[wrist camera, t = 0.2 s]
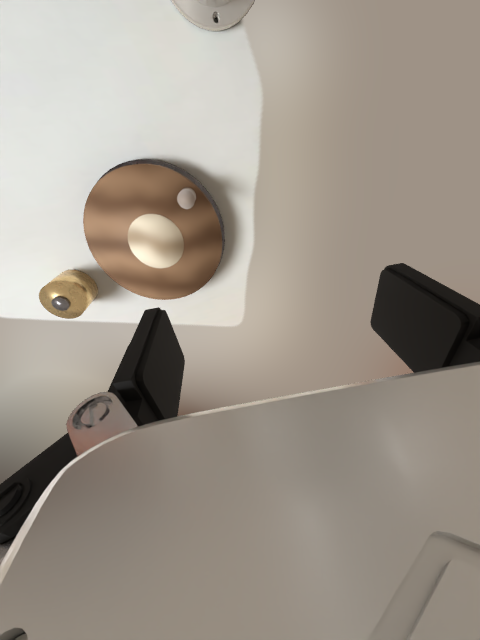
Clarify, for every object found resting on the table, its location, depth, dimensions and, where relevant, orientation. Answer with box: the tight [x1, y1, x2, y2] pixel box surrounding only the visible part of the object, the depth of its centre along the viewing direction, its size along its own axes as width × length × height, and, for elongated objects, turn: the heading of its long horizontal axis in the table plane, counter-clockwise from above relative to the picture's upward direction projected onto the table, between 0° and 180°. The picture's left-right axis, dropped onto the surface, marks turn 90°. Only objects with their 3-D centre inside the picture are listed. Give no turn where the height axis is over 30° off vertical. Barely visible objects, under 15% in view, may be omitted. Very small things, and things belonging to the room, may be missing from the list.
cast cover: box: [39, 270, 98, 319], centre depth 43 cm, size 7×7×7 cm
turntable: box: [83, 164, 222, 300], centre depth 39 cm, size 22×22×6 cm
